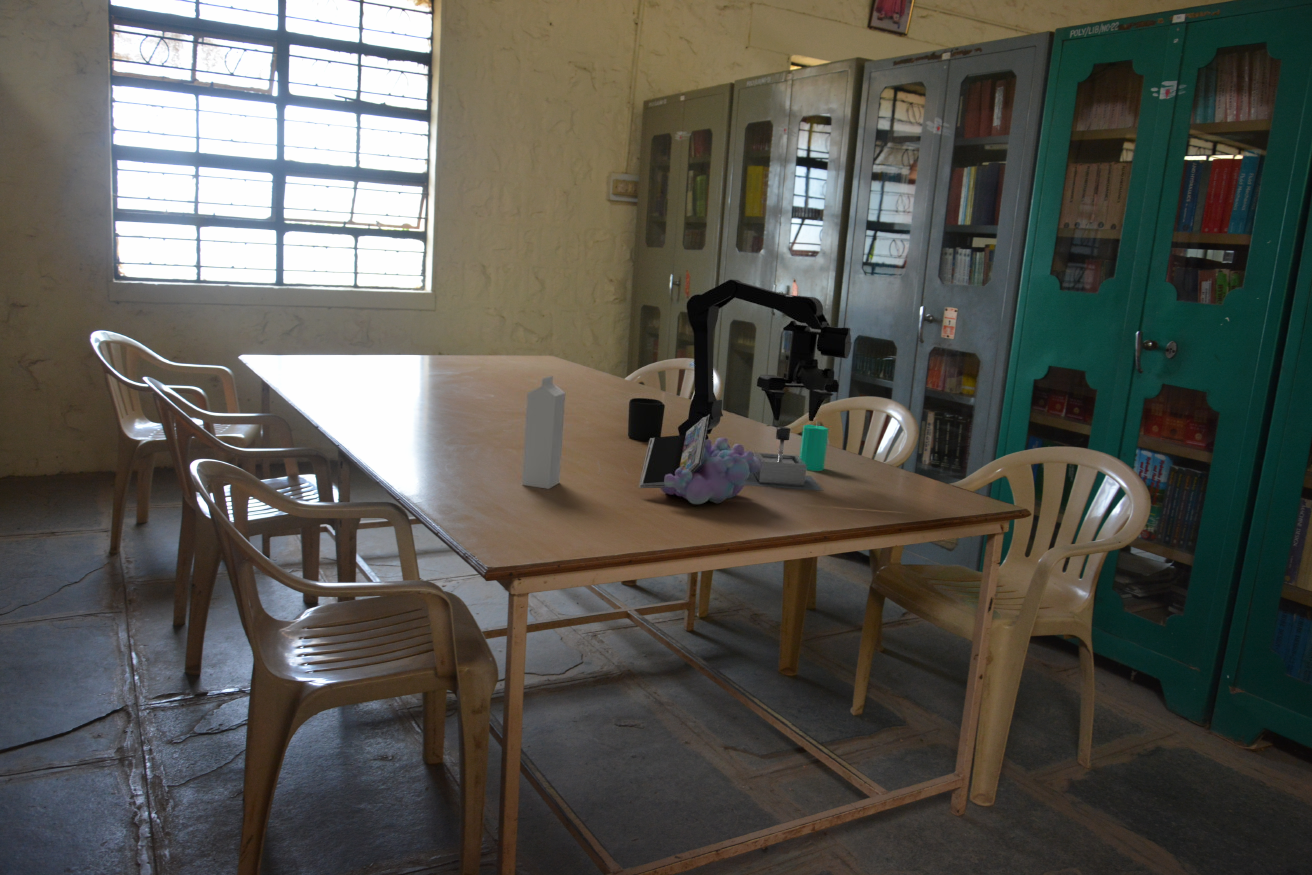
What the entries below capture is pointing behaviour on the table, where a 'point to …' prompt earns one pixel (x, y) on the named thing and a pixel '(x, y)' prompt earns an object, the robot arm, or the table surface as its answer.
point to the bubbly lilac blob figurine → (697, 466)
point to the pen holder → (645, 418)
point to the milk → (543, 435)
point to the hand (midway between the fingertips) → (793, 420)
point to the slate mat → (808, 485)
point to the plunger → (781, 445)
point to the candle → (814, 447)
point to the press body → (781, 471)
